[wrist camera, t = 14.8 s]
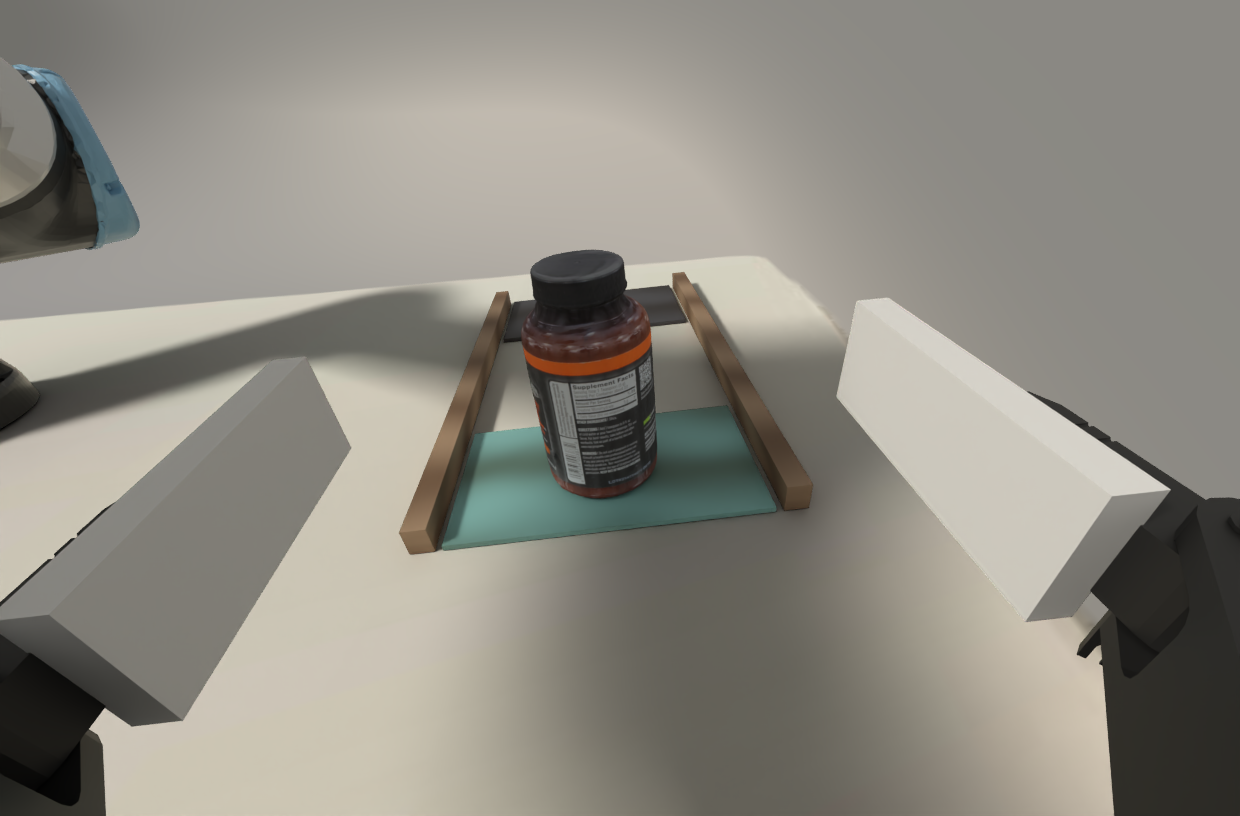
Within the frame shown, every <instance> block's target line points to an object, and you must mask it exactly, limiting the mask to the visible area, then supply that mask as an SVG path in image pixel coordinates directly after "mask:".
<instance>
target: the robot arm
mask: <svg viewBox="0 0 1240 816" xmlns="http://www.w3.org/2000/svg"><path fill="white" fill-rule="evenodd" d="M139 228H140V223H139V219H138V216H137V214H136V211H135V209H134V207H133V205H132V203H131V201H130V199H129V197H128V195H127V193H126V191H125V189H124V187H123V186H122V184H121V182H120V181H119V177H118V176H117V174H116V172H115V169H114V167H113V165H112V163H111V161H110V159H109V158H108V155H107V153H106V152H105V150H104V148H103V146H102V144H101V142H100V140H99V139H98V137H97V135H96V133H95V131H94V129H93V128H92V125H91V124H90V122H89V120H88V118H87V116H86V114H85V113H84V111H83V109H82V107H81V106H80V104H79V102H78V100H77V99H76V97H75V95H74V93H73V92H72V90H71V88H70V87H69V86H68V85H67V84H66V82H65V80H64V79H63V78H62V77H61V76H60V75H58V74H57V73H56V72H54V71H51V70H48V69H44V68H31V67H29V66H26V65H22V64H21V65H20V64H19V65H12V66H11V65H10V64H9V63H7V62H6V61H5V60H4V59H3V58H1V57H0V264H1V263H6V262H12V261H18V260H23V259H29V258H34V257H40V256H45V255H51V254H56V253H62V252H68V251H73V250H79V249H84V248H85V249H88V250H92V249H98V248H101V247H102V246H103V245H104V244H108V243H112V242H117V241H122V240H126V239H129V238H131V237H133V236H134V235H136V234H137V232H138V231H139ZM836 397H837V398H838V400H839V401H840V402H841V403H842V404H843V406H844V407H845V408H846V409H847V410H848V412H849V413H850V414H851V415H852V416H853V417H854V419H855V420H856V421H857V422H858V423H859V425H860V426H861V427H862V428H863V429H864V431H865V432H866V433H867V434H868V435H869V437H870V438H871V439H872V440H873V441H874V443H875V444H876V445H877V446H878V447H879V449H880V450H881V451H882V452H883V453H884V454H885V456H886V457H887V458H888V459H889V460H890V462H891V463H892V464H893V465H894V466H895V468H896V469H897V470H898V471H899V472H900V474H901V475H902V476H903V477H904V478H905V480H906V481H907V482H908V483H909V484H910V486H911V487H912V488H913V489H914V490H915V492H916V493H917V494H918V495H919V496H920V497H921V499H922V500H923V501H924V502H925V503H926V505H927V506H928V507H929V508H930V509H931V511H932V512H933V513H934V514H935V515H936V517H937V518H938V519H939V520H940V521H941V523H942V524H943V525H944V526H945V527H946V529H947V530H948V531H949V532H950V533H951V534H952V536H953V537H954V538H955V539H956V540H957V542H958V543H959V544H960V545H961V546H962V548H963V549H964V550H965V551H966V552H967V554H968V555H969V556H970V557H971V558H972V560H973V561H974V562H975V563H976V564H977V566H978V567H979V568H980V569H981V570H982V572H983V573H984V574H985V575H986V576H987V577H988V579H989V580H990V581H991V582H992V583H993V585H994V586H995V587H996V588H997V589H998V591H999V592H1000V593H1001V594H1002V595H1003V597H1004V598H1005V599H1006V600H1007V601H1008V603H1009V604H1010V605H1011V606H1012V607H1013V609H1014V610H1015V611H1016V612H1017V613H1018V614H1019V616H1020V617H1021V618H1022V619H1023V620H1024V622H1030V621H1039V620H1047V619H1056V618H1064V617H1072V616H1073V615H1074V613H1075V612H1076V611H1077V610H1078V608H1079V607H1080V606H1081V604H1082V603H1083V602H1084V601H1085V599H1086V598H1087V597H1088V595H1089V594H1090V593H1091V592H1092V593H1093V594H1094V595H1095V596H1096V597H1097V598H1098V599H1099V600H1100V601H1101V602H1102V603H1103V604H1104V605H1105V606H1106V607H1107V608H1108V609H1109V610H1108V611H1107V613H1106V614H1105V615H1104V616H1103V618H1102V619H1101V620H1100V621H1099V622H1098V623H1097V624H1096V626H1095V627H1094V628H1093V629H1092V630H1091V632H1090V633H1089V634H1088V635H1087V636H1086V638H1085V639H1084V640H1083V641H1082V642H1081V643H1080V645H1079V648H1078V652H1077V655H1079V656H1081V657H1084V658H1086V657H1087V656H1088V655H1089V654H1090V653H1091V652H1092V651H1093V650H1094V648H1095V647H1096V646H1099V645H1101V650H1102V660H1101V661H1100V662H1099V664H1100V665H1103V676H1104V689H1105V702H1106V715H1107V728H1108V741H1109V754H1110V767H1111V779H1112V792H1113V805H1114V816H1240V499H1235V498H1209V499H1207V500H1205V499H1204V498H1202V497H1200V496H1199V495H1197V494H1196V493H1194V492H1193V491H1191V490H1190V489H1188V488H1187V487H1185V486H1183V485H1182V484H1180V483H1179V482H1178V481H1176V480H1174V479H1173V478H1172V477H1170V476H1169V475H1167V474H1165V473H1164V472H1162V471H1161V470H1159V469H1158V468H1156V467H1155V466H1153V465H1151V464H1150V463H1149V462H1147V461H1146V460H1144V459H1143V458H1141V457H1139V456H1138V455H1137V454H1135V453H1134V452H1132V451H1131V450H1129V449H1128V448H1126V447H1124V446H1123V445H1121V444H1120V443H1118V442H1117V441H1114V442H1112V441H1111V440H1110V437H1109V436H1108V435H1106V434H1105V433H1103V432H1102V431H1100V430H1099V429H1097V428H1096V427H1094V426H1091V427H1089V426H1088V422H1086V421H1085V420H1083V419H1082V418H1080V417H1079V416H1077V415H1076V414H1074V413H1073V412H1071V411H1070V410H1068V409H1067V408H1065V407H1063V406H1062V405H1060V404H1058V403H1055V402H1053V401H1050V400H1048V399H1045V398H1043V397H1041V396H1038V395H1036V394H1033V393H1031V392H1026V391H1025V390H1023V389H1022V388H1020V387H1019V386H1017V385H1016V384H1014V383H1013V382H1011V381H1010V380H1009V379H1007V378H1006V377H1004V376H1003V375H1001V374H1000V373H998V372H997V371H995V370H994V369H992V368H991V367H989V366H988V365H987V364H985V363H983V362H982V361H981V360H979V359H978V358H976V357H975V356H973V355H972V354H970V353H969V352H967V351H966V350H964V349H963V348H961V347H960V346H959V345H957V344H955V343H954V342H953V341H951V340H950V339H948V338H947V337H945V336H944V335H942V334H941V333H939V332H938V331H936V330H935V329H933V328H932V327H931V326H929V325H928V324H926V323H925V322H923V321H921V320H920V319H919V318H917V317H916V316H914V315H913V314H911V313H910V312H908V311H907V310H905V309H904V308H903V307H901V306H899V305H898V304H896V303H895V302H894V301H892V300H891V299H889V298H880V299H871V300H860V301H857V302H856V307H855V312H854V316H853V321H852V326H851V330H850V335H849V340H848V344H847V349H846V354H845V358H844V363H843V368H842V372H841V377H840V382H839V387H838V391H837V396H836ZM38 399H39V392H38V391H37V389H36V388H35V387H34V386H33V385H32V384H31V383H30V382H29V380H28V379H27V378H26V377H25V376H24V375H23V374H22V373H21V372H20V371H19V370H18V369H17V368H15V367H13V366H12V365H10V364H8V363H7V362H5V361H4V360H2V359H0V429H1V428H2V427H4V426H6V425H8V424H9V423H11V422H12V421H14V420H15V419H17V418H19V417H20V416H21V415H23V414H24V413H25V412H27V411H28V410H29V409H30V408H31V407H32V406H33V405H34V404H35V403H36V402H37V400H38ZM350 449H351V446H350V444H349V442H348V440H347V438H346V436H345V434H344V432H343V430H342V428H341V426H340V424H339V422H338V420H337V418H336V416H335V414H334V412H333V410H332V408H331V406H330V404H329V402H328V400H327V398H326V396H325V394H324V392H323V390H322V388H321V386H320V384H319V382H318V380H317V378H316V376H315V374H314V372H313V370H312V368H311V366H310V364H309V362H308V360H307V358H306V356H304V357H294V358H285V359H275V360H272V361H271V362H270V363H269V364H267V365H266V366H265V367H264V368H263V369H262V370H261V371H260V372H259V373H258V374H256V375H255V376H254V377H253V378H252V379H251V380H250V381H249V382H248V383H247V384H245V385H244V386H243V387H242V388H241V389H240V390H239V391H238V392H237V393H235V394H234V395H233V396H232V397H231V398H230V399H229V400H228V401H227V402H226V403H224V404H223V405H222V406H221V407H220V408H219V409H218V410H217V411H216V412H214V413H213V414H212V415H211V416H210V417H209V418H208V419H207V420H206V421H205V422H203V423H202V424H201V425H200V426H199V427H198V428H197V429H196V430H195V431H194V432H192V433H191V434H190V435H189V436H188V437H187V438H186V439H185V440H184V441H182V442H181V443H180V444H179V445H178V446H177V447H176V448H175V449H174V450H173V451H171V452H170V453H169V454H168V455H167V456H166V457H165V458H164V459H163V460H162V461H160V462H159V463H158V464H157V465H156V466H155V467H154V468H153V469H152V470H150V471H149V472H148V473H147V474H146V475H145V476H144V477H143V478H142V479H141V480H139V481H138V482H137V483H136V484H135V485H134V486H133V487H132V488H131V489H130V490H128V491H127V492H126V493H125V494H124V495H123V496H122V497H121V498H120V499H118V500H117V501H116V502H115V503H113V504H111V505H110V506H108V507H107V508H105V509H104V510H102V511H101V512H100V513H99V514H98V515H97V516H96V517H95V518H94V519H92V520H91V521H90V522H89V523H88V524H87V525H86V526H85V527H83V528H82V529H81V530H80V531H79V532H78V533H77V538H71V539H70V540H69V541H68V542H67V543H66V544H65V545H63V546H62V547H61V548H60V549H59V550H58V551H57V552H56V553H55V554H54V555H55V557H54V558H53V559H48V560H47V561H46V562H45V563H43V564H42V565H41V566H40V567H39V568H38V569H37V570H36V571H35V572H33V573H32V574H31V575H30V576H29V577H28V578H27V579H26V580H25V581H23V582H22V583H21V584H20V585H19V586H18V587H17V588H16V589H15V590H13V591H12V592H11V593H10V594H9V595H8V596H7V597H6V598H4V599H3V600H2V601H1V602H0V816H106V808H105V786H104V765H103V745H102V743H101V741H100V739H99V736H98V735H97V734H95V733H94V732H92V731H91V730H89V728H90V727H91V725H92V724H93V723H94V721H95V720H96V719H97V717H98V716H99V715H100V713H101V712H102V711H103V709H104V708H106V709H107V710H109V711H110V712H112V713H113V714H115V715H116V716H117V717H119V718H120V719H122V720H123V721H125V722H126V723H127V724H129V725H130V726H141V725H149V724H158V723H166V722H175V721H183V720H184V718H185V716H186V715H187V713H188V712H189V710H190V708H191V707H192V705H193V703H194V702H195V700H196V699H197V697H198V695H199V694H200V692H201V690H202V689H203V687H204V686H205V684H206V682H207V681H208V679H209V678H210V676H211V674H212V673H213V671H214V669H215V668H216V666H217V665H218V663H219V661H220V660H221V658H222V656H223V655H224V653H225V652H226V650H227V648H228V647H229V645H230V644H231V642H232V640H233V639H234V637H235V635H236V634H237V632H238V631H239V629H240V627H241V626H242V624H243V623H244V621H245V619H246V618H247V616H248V614H249V613H250V611H251V610H252V608H253V606H254V605H255V603H256V601H257V600H258V598H259V597H260V595H261V593H262V592H263V590H264V589H265V587H266V585H267V584H268V582H269V580H270V579H271V577H272V576H273V574H274V572H275V571H276V569H277V567H278V566H279V564H280V563H281V561H282V559H283V558H284V556H285V555H286V553H287V551H288V550H289V548H290V546H291V545H292V543H293V542H294V540H295V538H296V537H297V535H298V534H299V532H300V530H301V529H302V527H303V525H304V524H305V522H306V521H307V519H308V517H309V516H310V514H311V512H312V511H313V509H314V508H315V506H316V504H317V503H318V501H319V500H320V498H321V496H322V495H323V493H324V491H325V490H326V488H327V487H328V485H329V483H330V482H331V480H332V479H333V477H334V475H335V474H336V472H337V470H338V469H339V467H340V466H341V464H342V462H343V461H344V459H345V457H346V456H347V454H348V453H349V451H350Z"/></svg>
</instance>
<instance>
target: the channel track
mask: <svg viewBox="0 0 1240 816" xmlns="http://www.w3.org/2000/svg"><path fill="white" fill-rule="evenodd" d="M672 276H673V289H674V291H675V293H676V295H677V297H678V299H679V301H680V303H681V305H682V307H683V309H684V311H685V313H686V315H687V317H688V319H689V321H690V323H691V325H692V327H693V329H694V331H695V333H696V335H697V337H698V339H699V341H700V343H701V345H702V347H703V349H704V351H705V353H706V355H707V357H708V359H709V361H710V363H711V365H712V367H713V369H714V371H715V373H716V375H717V377H718V379H719V381H720V383H721V385H722V387H723V389H724V391H725V393H726V395H727V397H728V399H729V401H730V403H731V405H732V407H733V409H734V411H735V413H736V415H737V417H738V419H739V421H740V423H741V425H742V427H743V429H744V431H745V433H746V435H747V437H748V439H749V441H750V443H751V445H752V447H753V449H754V451H755V453H756V455H757V457H758V459H759V461H760V463H761V465H762V467H763V469H764V471H765V473H766V475H767V477H768V479H769V481H770V483H771V485H772V487H773V489H774V491H775V493H776V495H777V497H778V499H779V501H780V503H781V505H782V507H783V509H784V511H785V510H794V509H802V508H809V504H810V499H811V493H812V488H813V484H812V482H811V480H810V479H809V477H808V475H807V474H806V472H805V470H804V469H803V467H802V466H801V464H800V462H799V461H798V459H797V457H796V456H795V454H794V452H793V451H792V449H791V447H790V446H789V444H788V442H787V441H786V439H785V438H784V436H783V434H782V433H781V431H780V429H779V428H778V426H777V424H776V423H775V421H774V419H773V418H772V416H771V414H770V413H769V411H768V410H767V408H766V406H765V405H764V403H763V401H762V400H761V398H760V396H759V395H758V393H757V391H756V390H755V388H754V386H753V385H752V383H751V382H750V380H749V378H748V377H747V375H746V373H745V372H744V370H743V368H742V367H741V365H740V363H739V362H738V360H737V358H736V357H735V355H734V354H733V352H732V350H731V349H730V347H729V345H728V344H727V342H726V340H725V339H724V337H723V335H722V334H721V332H720V330H719V329H718V327H717V326H716V324H715V322H714V321H713V319H712V317H711V316H710V314H709V312H708V311H707V309H706V307H705V306H704V304H703V302H702V301H701V299H700V298H699V296H698V294H697V293H696V291H695V289H694V288H693V286H692V284H691V283H690V281H689V279H688V278H687V276H686V274H685V273H684V272H681V273H672ZM623 293H624V294H625V295H626V296H629V297H631V298H633V299H635V300H636V301H637V302H639V303H640V304H641V305H642V306H643V307H644V309H645V310H646V312H647V314H648V317H649V322H650V326H657V325H666V324H675V323H684V322H685V317H684V315H683V313H682V311H681V309H680V307H679V305H678V303H677V301H676V299H675V297H674V295H673V293H672V291H671V289H670V287H669V285H667V286H657V287H648V288H639V289H630V290H625V291H624V292H623ZM535 304H536V300H528V301H519V302H514V305H513V309H512V312H511V316H510V319H509V322H508V326H507V329H506V332H505V336H504V342H511V341H520V340H521V330H522V326H523V322H524V321H525V319H526V317H527V315H529V313H530V312H531V311H532V310H533V309H534V306H535ZM510 308H511V302H510V297H509V293H508V291H505V292H496V295H495V297H494V300H493V302H492V304H491V307H490V309H489V312H488V314H487V317H486V319H485V322H484V324H483V327H482V329H481V332H480V334H479V337H478V339H477V341H476V344H475V346H474V349H473V351H472V354H471V356H470V359H469V361H468V364H467V366H466V369H465V371H464V374H463V376H462V379H461V381H460V383H459V386H458V388H457V391H456V393H455V396H454V398H453V401H452V403H451V406H450V408H449V411H448V413H447V416H446V418H445V420H444V423H443V425H442V428H441V430H440V433H439V435H438V438H437V440H436V443H435V445H434V448H433V450H432V453H431V455H430V458H429V460H428V462H427V465H426V467H425V470H424V472H423V475H422V477H421V480H420V482H419V485H418V487H417V490H416V492H415V495H414V497H413V499H412V502H411V504H410V507H409V509H408V512H407V514H406V517H405V519H404V522H403V524H402V527H401V529H400V532H399V534H400V536H401V538H402V540H403V542H404V544H405V546H406V548H407V550H408V552H409V554H418V553H426V552H435V550H436V547H437V543H438V540H439V537H440V534H441V530H442V527H443V524H444V521H445V518H446V514H447V511H448V508H449V505H450V501H451V498H452V495H453V492H454V488H455V485H456V482H457V479H458V476H459V472H460V469H461V466H462V463H463V459H464V456H465V453H466V450H467V446H468V443H469V440H470V437H471V434H472V430H473V427H474V424H475V421H476V417H477V414H478V411H479V408H480V405H481V401H482V398H483V395H484V392H485V388H486V385H487V382H488V379H489V375H490V372H491V369H492V366H493V363H494V359H495V356H496V353H497V350H498V346H499V343H500V340H501V337H502V333H503V330H504V327H505V324H506V321H507V317H508V314H509V311H510ZM656 431H657V461H656V465H655V468H654V470H653V472H652V474H651V475H650V476H649V477H648V479H647V480H646V481H644V482H643V483H642V484H641V485H640V486H638V487H637V488H635V489H634V490H632V491H629V492H628V493H624V494H621V495H618V496H615V497H607V498H601V499H599V498H588V497H582V496H579V495H576V494H573V493H571V492H569V491H567V490H565V489H563V488H562V487H561V486H560V485H559V484H558V483H557V481H556V480H555V478H554V477H553V475H552V472H551V469H550V465H549V463H548V459H547V454H546V450H545V445H544V439H543V435H542V432H541V426H540V427H531V428H522V429H513V430H505V431H496V432H487V433H478V434H475V436H474V439H473V443H472V446H471V449H470V453H469V456H468V459H467V463H466V466H465V470H464V473H463V476H462V480H461V483H460V486H459V490H458V493H457V496H456V500H455V503H454V506H453V510H452V513H451V516H450V520H449V523H448V526H447V530H446V533H445V536H444V540H443V543H442V548H443V550H452V549H460V548H469V547H478V546H486V545H495V544H503V543H512V542H520V541H529V540H537V539H546V538H555V537H563V536H572V535H580V534H589V533H597V532H606V531H614V530H623V529H631V528H640V527H649V526H657V525H666V524H674V523H683V522H691V521H700V520H708V519H717V518H726V517H734V516H743V515H751V514H760V513H768V512H776V508H777V507H776V505H775V503H774V501H773V499H772V497H771V495H770V493H769V490H768V488H767V486H766V484H765V482H764V480H763V478H762V476H761V474H760V472H759V470H758V468H757V466H756V464H755V462H754V460H753V457H752V455H751V453H750V451H749V449H748V447H747V445H746V443H745V441H744V439H743V437H742V435H741V433H740V431H739V429H738V427H737V425H736V422H735V420H734V418H733V416H732V414H731V412H730V410H729V408H728V406H727V405H726V406H717V407H708V408H699V409H691V410H682V411H673V412H664V413H656Z"/></svg>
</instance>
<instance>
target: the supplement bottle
mask: <svg viewBox="0 0 1240 816" xmlns="http://www.w3.org/2000/svg"><path fill="white" fill-rule="evenodd" d="M530 273H531V279H532V287H533V296H534V298H535V300H536V304H535V306H534V309H533V310H532V311H531V312H530V313H529V315H527V317H526V319H525V321H524V322H523V326H522V330H521V340H522V345H523V350H524V354H525V359H526V364H527V369H528V374H529V378H530V383H531V387H532V391H533V396H534V399H535V403H536V408H537V413H538V417H539V422H540V426H541V432H542V435H543V439H544V445H545V450H546V454H547V459H548V463H549V465H550V469H551V472H552V475H553V477H554V478H555V480H556V481H557V483H558V484H559V485H560V486H561V487H562V488H563V489H565V490H567V491H569V492H571V493H573V494H576V495H579V496H582V497H588V498H599V499H601V498H607V497H615V496H618V495H621V494H624V493H628V492H629V491H632V490H634V489H635V488H637V487H638V486H640V485H641V484H642V483H643V482H644V481H646V480H647V479H648V477H649V476H650V475H651V474H652V472H653V470H654V468H655V465H656V461H657V431H656V411H655V393H654V378H653V358H652V343H651V328H650V322H649V317H648V314H647V312H646V310H645V309H644V307H643V306H642V305H641V304H640V303H639V302H637V301H636V300H635V299H633V298H631V297H629V296H626V295H625V294H624V293H623V292H624V291H625V289H626V287H627V281H626V279H625V270H624V262H623V259H622V258H621V257H620V256H619V255H617V254H615V253H612V252H609V251H603V250H581V251H572V252H566V253H561V254H556V255H552V256H549V257H546V258H544V259H542V260H540V261H539V262H537V263H535V265H533V266H532V268H531V272H530Z"/></svg>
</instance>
